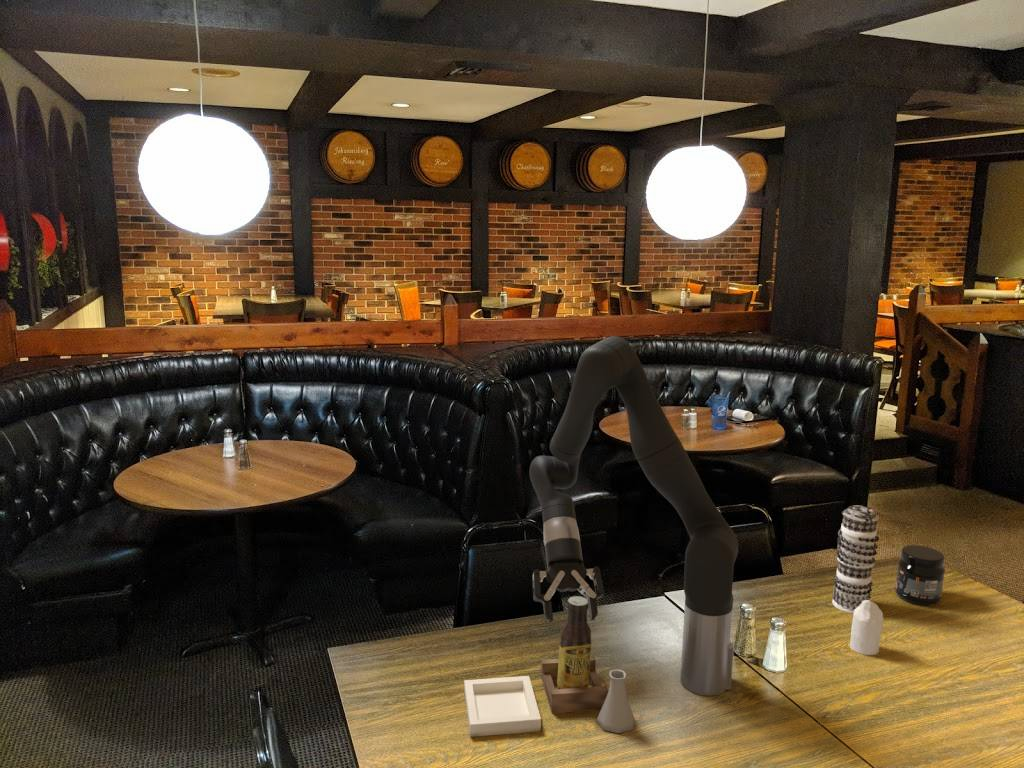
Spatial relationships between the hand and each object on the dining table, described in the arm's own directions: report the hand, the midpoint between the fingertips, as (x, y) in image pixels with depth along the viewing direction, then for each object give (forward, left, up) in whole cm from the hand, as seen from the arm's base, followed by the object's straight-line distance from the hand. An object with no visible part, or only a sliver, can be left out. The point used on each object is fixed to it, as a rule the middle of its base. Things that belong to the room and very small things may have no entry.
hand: (571, 620), depth 158 cm
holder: (0, +3, -14) cm, 14 cm away
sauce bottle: (0, +3, -14) cm, 15 cm away
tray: (+15, +7, -14) cm, 22 cm away
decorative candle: (-75, -24, -14) cm, 80 cm away
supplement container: (-94, -26, -14) cm, 99 cm away
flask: (-6, +13, -14) cm, 20 cm away
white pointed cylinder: (-67, -5, -14) cm, 69 cm away
